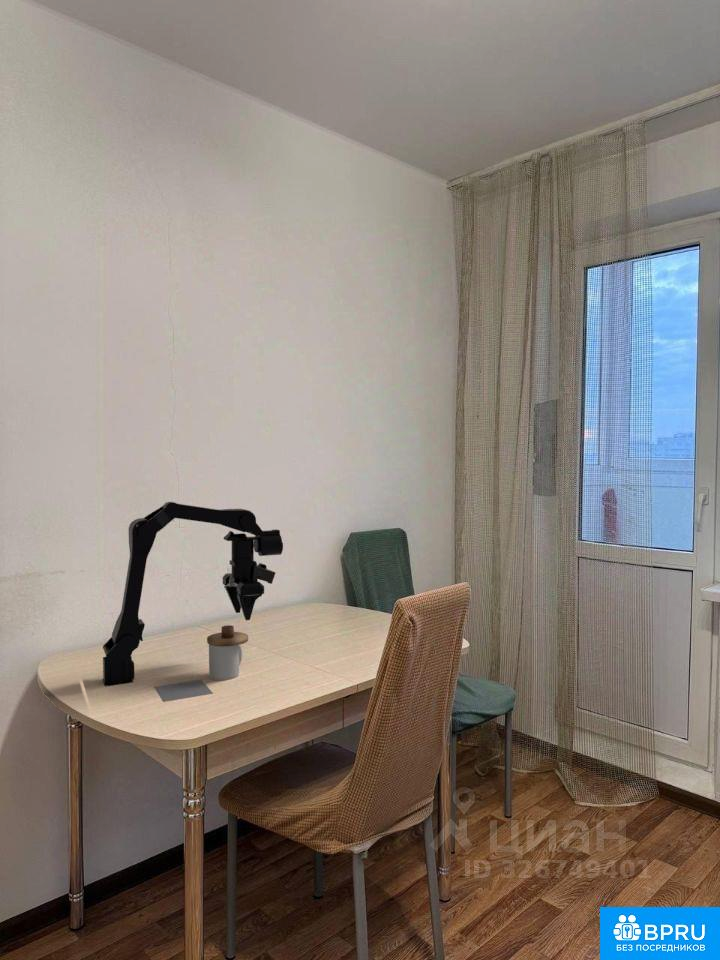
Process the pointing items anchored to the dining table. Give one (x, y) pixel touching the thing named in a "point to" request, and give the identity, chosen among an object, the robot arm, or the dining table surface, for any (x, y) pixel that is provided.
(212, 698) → the dining table surface
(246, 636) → the lid
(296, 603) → the dining table surface
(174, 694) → the mat
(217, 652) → the cup
